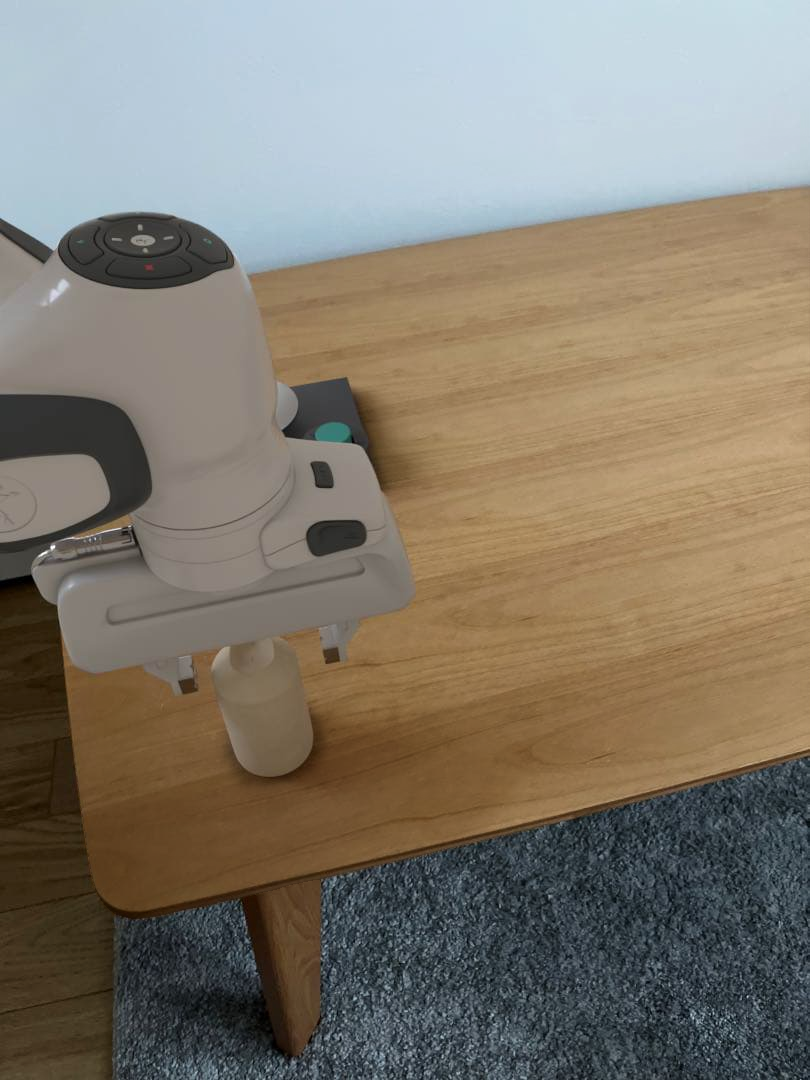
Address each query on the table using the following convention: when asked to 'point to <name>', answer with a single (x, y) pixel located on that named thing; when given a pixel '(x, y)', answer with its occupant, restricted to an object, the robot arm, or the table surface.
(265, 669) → the candle
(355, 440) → the scale
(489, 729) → the table surface
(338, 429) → the button
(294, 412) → the silver metal disc
